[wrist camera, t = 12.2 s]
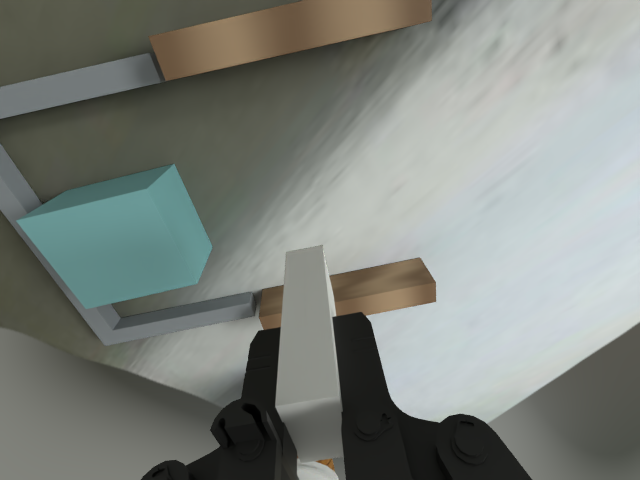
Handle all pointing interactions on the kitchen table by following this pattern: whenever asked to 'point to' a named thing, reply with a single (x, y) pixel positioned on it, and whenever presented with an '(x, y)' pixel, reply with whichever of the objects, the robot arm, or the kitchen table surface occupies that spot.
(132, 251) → the teal block
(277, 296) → the wooden guide rails
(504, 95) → the kitchen table surface
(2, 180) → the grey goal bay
